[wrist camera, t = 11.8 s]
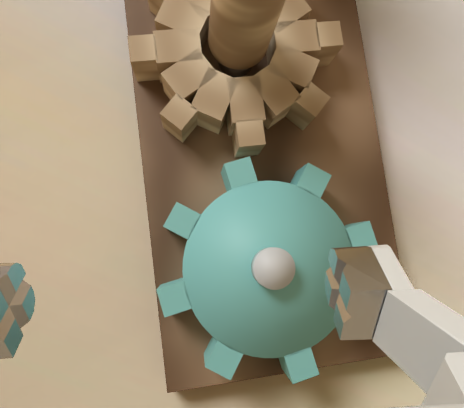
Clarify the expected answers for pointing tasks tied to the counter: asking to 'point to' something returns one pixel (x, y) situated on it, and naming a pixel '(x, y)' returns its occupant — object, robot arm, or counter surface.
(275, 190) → the gear
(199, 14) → the loose gear
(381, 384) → the counter surface
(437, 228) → the counter surface
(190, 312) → the gear board
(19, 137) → the counter surface
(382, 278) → the robot arm
